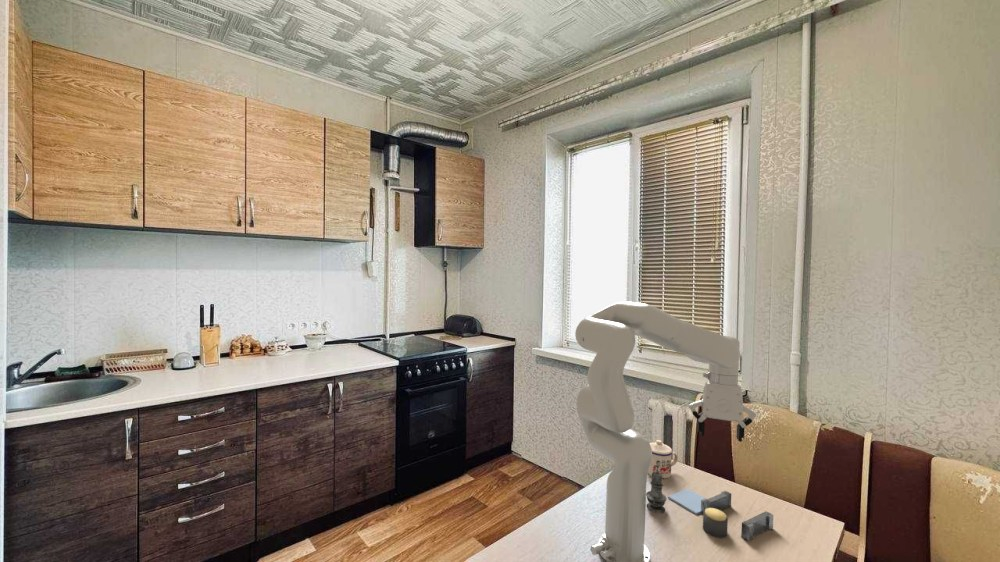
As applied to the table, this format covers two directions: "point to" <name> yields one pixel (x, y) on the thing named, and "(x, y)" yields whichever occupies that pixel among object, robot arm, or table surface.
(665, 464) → the teacup with lid
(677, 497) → the mat
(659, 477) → the dark grey turned post
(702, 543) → the table surface
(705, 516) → the grey and yellow cylinder
